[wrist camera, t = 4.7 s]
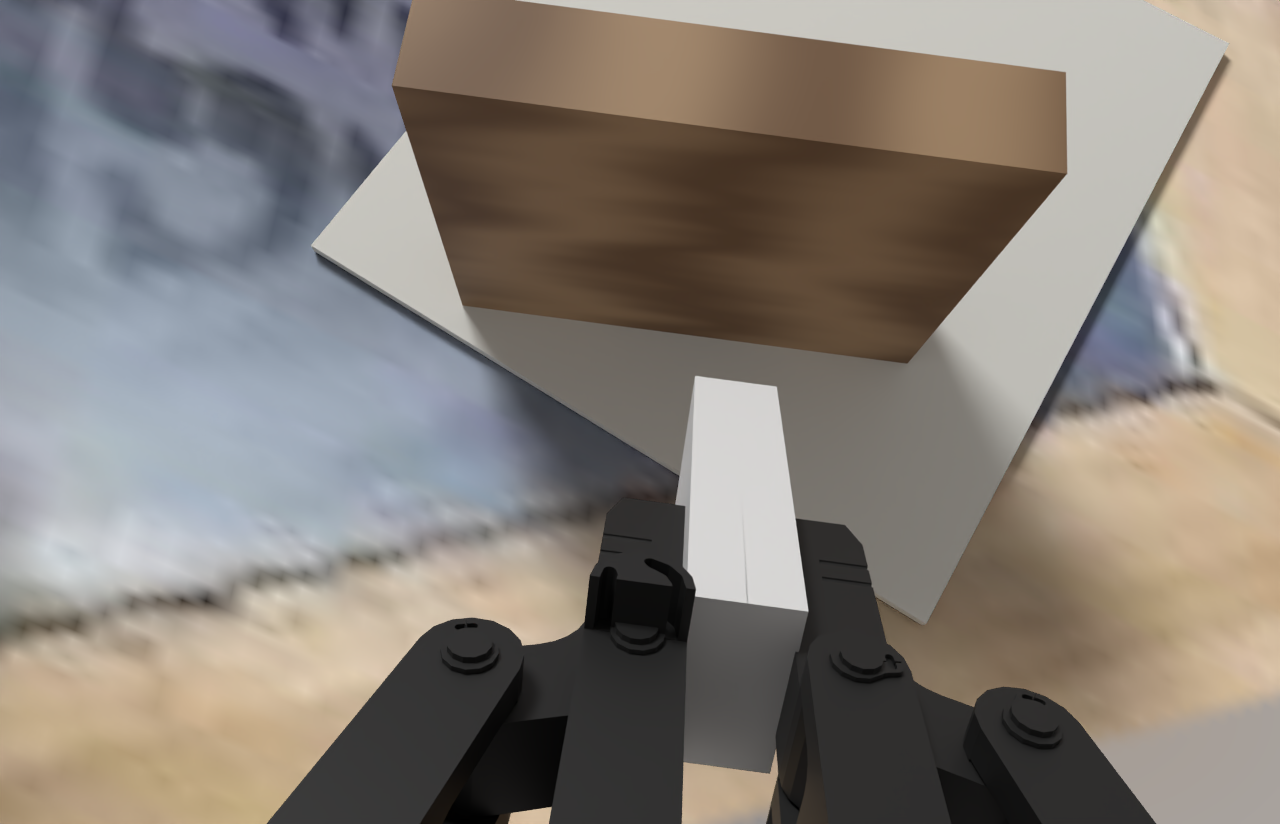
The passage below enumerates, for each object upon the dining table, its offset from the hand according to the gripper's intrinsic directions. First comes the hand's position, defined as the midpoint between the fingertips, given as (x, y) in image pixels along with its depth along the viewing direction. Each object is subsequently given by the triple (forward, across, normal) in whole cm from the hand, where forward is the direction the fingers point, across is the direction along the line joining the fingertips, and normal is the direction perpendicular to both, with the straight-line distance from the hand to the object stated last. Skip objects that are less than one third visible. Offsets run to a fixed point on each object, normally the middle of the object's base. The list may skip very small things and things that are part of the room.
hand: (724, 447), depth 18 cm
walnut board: (+13, -1, -2) cm, 13 cm away
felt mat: (+18, +2, +2) cm, 18 cm away
